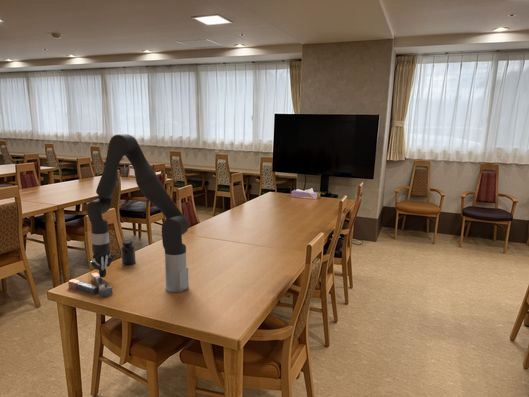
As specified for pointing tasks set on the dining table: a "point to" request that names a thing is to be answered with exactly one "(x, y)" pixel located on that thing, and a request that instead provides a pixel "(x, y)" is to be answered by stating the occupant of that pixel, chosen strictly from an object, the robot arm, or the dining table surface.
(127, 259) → the supplement bottle
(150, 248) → the dining table surface
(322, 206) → the dining table surface
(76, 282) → the tongs fixed
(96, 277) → the tong arm
